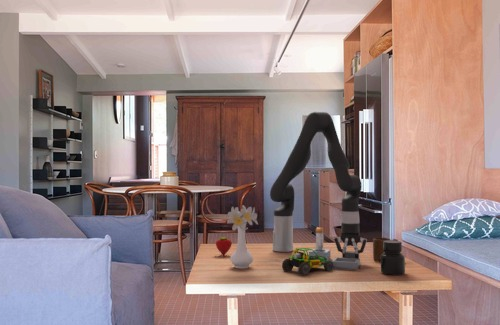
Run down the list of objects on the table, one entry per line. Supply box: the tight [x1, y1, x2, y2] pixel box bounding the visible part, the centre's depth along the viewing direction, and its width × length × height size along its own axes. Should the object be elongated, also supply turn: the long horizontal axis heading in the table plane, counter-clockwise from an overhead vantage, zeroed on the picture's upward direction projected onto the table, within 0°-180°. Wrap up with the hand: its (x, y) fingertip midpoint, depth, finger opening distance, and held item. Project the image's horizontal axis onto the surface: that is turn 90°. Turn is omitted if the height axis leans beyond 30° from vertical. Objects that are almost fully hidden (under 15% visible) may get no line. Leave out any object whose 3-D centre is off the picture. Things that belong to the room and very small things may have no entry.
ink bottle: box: [380, 239, 406, 276], centre depth 176 cm, size 10×9×12 cm
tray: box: [331, 256, 361, 271], centre depth 187 cm, size 10×9×3 cm
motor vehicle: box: [281, 247, 333, 277], centre depth 181 cm, size 12×19×11 cm, turn 127°
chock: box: [345, 250, 356, 258], centre depth 196 cm, size 4×6×4 cm
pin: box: [315, 227, 324, 252], centre depth 204 cm, size 3×3×14 cm
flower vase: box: [226, 204, 259, 270], centre depth 188 cm, size 13×18×25 cm
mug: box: [372, 237, 399, 263], centre depth 202 cm, size 12×8×9 cm, turn 100°
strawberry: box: [215, 235, 233, 256], centre depth 217 cm, size 6×8×10 cm
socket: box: [308, 248, 331, 261], centre depth 204 cm, size 8×8×4 cm
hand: (350, 262), depth 196 cm, fingers closed on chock, 4 cm apart
